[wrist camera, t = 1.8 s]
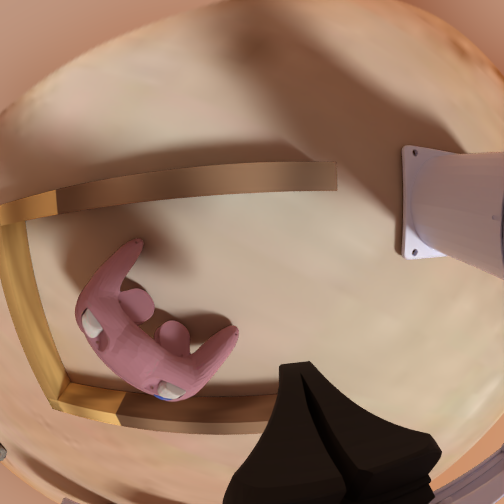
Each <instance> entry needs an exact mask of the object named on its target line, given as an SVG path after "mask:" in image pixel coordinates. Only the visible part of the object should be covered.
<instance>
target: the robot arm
mask: <svg viewBox="0 0 504 504" xmlns="http://www.w3.org/2000/svg"><path fill="white" fill-rule="evenodd" d="M413 150H414V151H415V156H414V155H413ZM402 165H403V237H402V256H403V258H405V259H408V260H410V259H421V258H432V257H442V256H450V257H453V258H455V259H458V260H460V261H462V262H465V263H467V264H469V265H472V266H474V267H476V268H479V269H481V270H483V271H485V272H488V273H490V274H492V275H494V276H496V277H499V278H501V279H503V280H504V152H487V153H469V154H457V153H452V152H447V151H442V150H436V149H431V148H425V147H419V146H412V145H406V146H404V147H403V148H402ZM414 249H415V252H414V254H413V255H412V251H413V250H414ZM441 454H442V451H441V449H440V448H439V446H438V444H437V443H436V441H435V440H434V439H433V437H432V436H431V435H430V434H428V433H423V432H419V431H415V430H411V429H407V428H404V427H401V426H398V425H396V424H393V423H391V422H388V421H386V420H384V419H382V418H380V417H377V416H375V415H373V414H372V413H370V412H368V411H366V410H365V409H363V408H362V407H360V406H358V405H357V404H355V403H354V402H353V401H351V400H350V399H349V398H347V397H346V396H345V395H344V394H342V393H341V392H340V391H339V390H338V389H337V388H336V387H335V386H333V385H332V384H331V383H330V382H329V381H328V380H327V379H326V378H325V377H324V376H323V375H322V374H321V373H320V372H319V371H318V369H317V368H316V367H315V366H314V365H313V364H312V363H311V362H310V361H307V362H298V363H289V364H281V365H280V366H279V389H278V394H277V398H276V401H275V405H274V408H273V411H272V414H271V416H270V419H269V421H268V423H267V426H266V428H265V430H264V432H263V434H262V436H261V437H260V439H259V441H258V443H257V444H256V446H255V447H254V449H253V450H252V452H251V453H250V455H249V456H248V458H247V459H246V460H245V462H244V463H243V464H242V465H241V466H240V468H239V469H238V470H237V471H236V472H235V473H234V475H233V476H232V479H231V481H230V483H229V485H228V488H227V490H226V492H225V495H224V498H223V503H222V504H495V503H496V502H497V501H498V500H499V499H501V498H502V497H503V496H504V444H503V445H502V447H501V448H500V449H499V450H497V451H496V452H495V453H494V454H492V455H491V456H490V457H488V458H487V459H486V460H484V461H483V462H481V463H480V464H478V465H477V466H476V467H474V468H472V469H471V470H469V471H468V472H466V473H465V474H463V475H462V476H460V477H458V478H457V479H455V480H453V481H452V482H450V483H448V484H446V485H445V486H443V487H441V488H439V489H437V490H435V491H434V492H433V491H432V489H431V488H430V486H429V483H430V482H431V478H430V477H429V475H428V474H429V473H430V471H431V470H432V469H433V467H434V466H435V465H436V464H437V462H438V461H439V459H440V457H441ZM61 504H79V503H77V502H74V501H72V500H70V499H67V498H63V501H62V503H61Z"/></svg>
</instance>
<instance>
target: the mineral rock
mask: <svg viewBox="0 0 504 504" xmlns="http://www.w3.org/2000/svg"><path fill="white" fill-rule="evenodd" d="M6 453H7V451H6V450H5V449H4V448H3V447H2V446H1V445H0V461H2V460H3V459H4V458H5V457H6Z"/></svg>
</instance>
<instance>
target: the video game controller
mask: <svg viewBox="0 0 504 504" xmlns="http://www.w3.org/2000/svg"><path fill="white" fill-rule="evenodd" d="M142 249H143V241H142V239H139V238H137V239H133V240H130V241H129V242H127V243H126V244H124V245H122V246H121V247H120V248H119V249H118V250H117V251H116V252H115V253H114V254H113V255H112V256H111V257H110V258H109V259H108V260H107V261H105V262H104V263H103V264H102V265H101V267H100V268H99V269H98V270H97V271H96V272H95V274H94V275H93V276H92V278H91V279H90V281H89V282H88V283H87V285H86V286H85V287H84V289H83V290H82V292H81V293H80V295H79V297H78V300H77V303H76V307H75V317H76V321H77V324H78V326H79V328H80V330H81V331H82V332H83V333H84V334H85V336H86V338H87V341H88V342H89V344H90V345H91V347H92V348H93V350H94V351H95V353H96V354H97V355H98V357H99V358H100V359H101V360H102V361H103V362H104V363H105V364H106V365H107V366H108V367H109V368H110V369H111V370H112V371H113V372H114V373H115V374H116V375H118V376H119V377H120V378H122V379H123V380H124V381H126V382H127V383H129V384H130V385H132V386H134V387H135V388H137V389H139V390H141V391H143V392H145V393H148V394H151V395H154V396H155V397H157V398H159V399H161V400H166V401H171V402H173V401H180V400H184V399H187V398H189V397H191V396H193V395H195V394H196V393H197V392H198V391H199V390H200V389H201V388H203V387H204V385H205V384H206V383H207V382H208V381H209V380H210V379H211V377H212V376H213V375H214V374H215V373H216V372H217V370H218V369H219V368H220V366H221V365H222V364H223V362H224V361H225V360H226V358H227V357H228V356H229V354H230V353H231V351H232V350H233V348H234V347H235V345H236V342H237V340H238V335H239V330H238V328H237V327H236V326H228V327H226V328H224V329H222V330H220V331H219V332H217V333H216V334H214V335H213V336H212V337H211V338H209V339H208V340H207V341H206V342H205V343H204V344H202V345H201V346H200V348H199V349H198V350H197V351H196V352H195V353H193V354H190V335H189V332H188V330H187V329H186V327H185V326H184V325H182V324H181V323H179V322H177V321H172V320H171V321H167V322H165V323H164V324H163V325H161V326H160V327H159V328H157V330H156V331H155V334H154V340H153V339H152V338H151V337H150V336H149V335H147V334H146V333H145V332H144V331H143V330H142V329H141V328H139V327H138V325H141V324H142V323H144V322H145V321H147V320H148V319H149V318H150V317H151V316H152V315H153V313H154V309H155V307H154V302H153V300H152V298H151V297H150V295H149V294H148V293H147V292H145V291H144V290H142V289H138V288H136V289H131V290H127V291H122V292H121V291H120V286H121V284H122V281H123V279H124V278H125V276H126V275H127V273H128V272H129V270H130V269H131V268H132V266H133V265H134V263H135V261H136V260H137V258H138V256H139V255H140V253H141V251H142Z"/></svg>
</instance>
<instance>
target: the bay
mask: <svg viewBox="0 0 504 504" xmlns="http://www.w3.org/2000/svg"><path fill="white" fill-rule="evenodd" d="M284 191H337V169H336V162H258V163H238V164H222V165H210V166H198V167H188V168H179V169H170V170H162V171H154V172H147V173H140V174H133V175H127V176H121V177H115V178H109V179H104V180H99V181H93V182H88V183H83V184H79V185H74V186H69V187H65V188H61V189H56V190H52V191H48V192H44V193H40V194H37V195H33V196H29V197H26V198H22V199H19V200H15V201H12V202H9V203H5V204H2V205H0V279H1V283H2V287H3V291H4V294H5V298H6V301H7V305H8V308H9V311H10V314H11V317H12V320H13V323H14V326H15V329H16V332H17V335H18V337H19V340H20V342H21V345H22V347H23V350H24V352H25V355H26V357H27V359H28V361H29V364H30V366H31V368H32V370H33V372H34V374H35V376H36V378H37V380H38V382H39V384H40V386H41V388H42V390H43V392H44V394H45V396H46V398H47V399H48V401H49V403H50V405H51V406H52V408H53V409H55V410H58V411H62V412H65V413H68V414H72V415H75V416H79V417H83V418H87V419H91V420H95V421H100V422H105V423H109V424H114V425H120V426H125V427H132V428H138V429H145V430H153V431H162V432H173V433H187V434H215V435H229V434H257V433H263V432H264V430H265V428H266V426H267V423H268V421H269V419H270V416H271V414H272V411H273V408H274V405H275V401H276V398H277V394H271V395H257V396H236V397H189V398H187V399H184V400H180V401H173V402H171V401H166V400H161V399H159V398H157V397H155V396H154V395H151V394H142V393H133V392H125V391H117V390H110V389H104V388H98V387H92V386H86V385H81V384H76V383H72V382H70V380H69V377H68V375H67V373H66V371H65V368H64V366H63V364H62V361H61V359H60V356H59V354H58V351H57V349H56V346H55V344H54V341H53V338H52V335H51V332H50V330H49V327H48V324H47V320H46V317H45V314H44V311H43V307H42V304H41V300H40V297H39V293H38V289H37V285H36V281H35V276H34V272H33V267H32V262H31V257H30V251H29V245H28V239H27V232H26V224H25V221H26V220H31V219H36V218H41V217H46V216H51V215H57V214H63V213H68V212H74V211H81V210H87V209H93V208H100V207H107V206H114V205H122V204H130V203H138V202H146V201H155V200H165V199H175V198H186V197H197V196H210V195H224V194H240V193H259V192H284Z"/></svg>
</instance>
